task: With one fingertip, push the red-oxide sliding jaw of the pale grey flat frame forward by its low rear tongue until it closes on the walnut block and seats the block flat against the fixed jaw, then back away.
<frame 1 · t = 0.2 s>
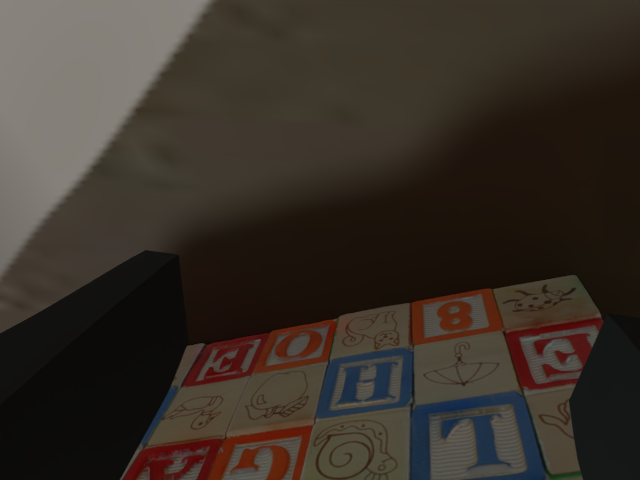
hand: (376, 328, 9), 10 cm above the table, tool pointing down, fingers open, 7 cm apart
stack of blocks: (327, 378, 23), on the table
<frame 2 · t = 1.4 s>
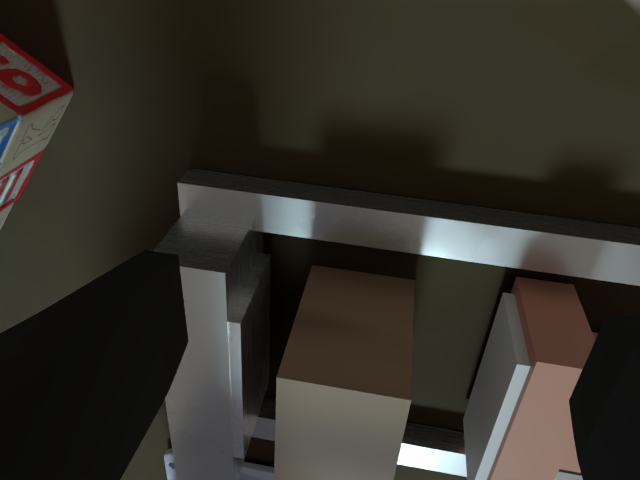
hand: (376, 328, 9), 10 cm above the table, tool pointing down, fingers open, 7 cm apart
pale grey flat frame: (234, 311, 23), on the table
block: (355, 329, 22), resting in pale grey flat frame
sliding jaw: (589, 413, 19), point 2 cm above the table, slide at 0.0 cm
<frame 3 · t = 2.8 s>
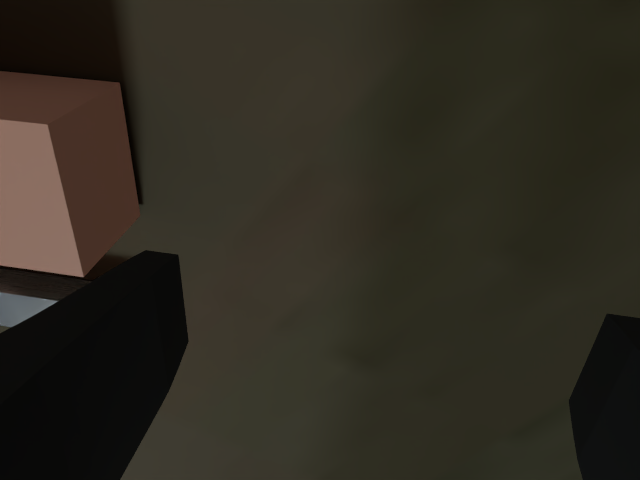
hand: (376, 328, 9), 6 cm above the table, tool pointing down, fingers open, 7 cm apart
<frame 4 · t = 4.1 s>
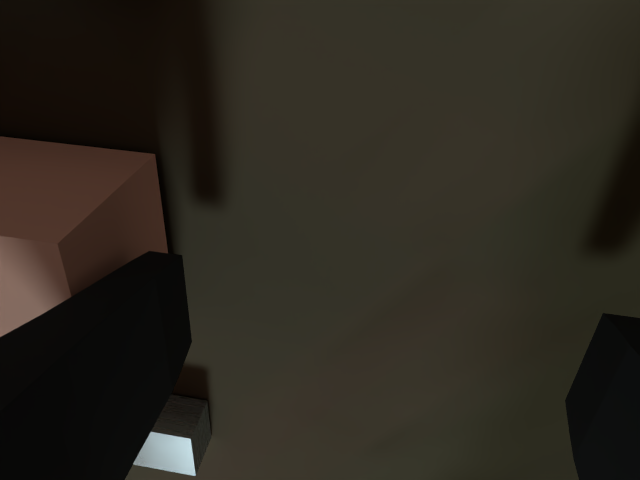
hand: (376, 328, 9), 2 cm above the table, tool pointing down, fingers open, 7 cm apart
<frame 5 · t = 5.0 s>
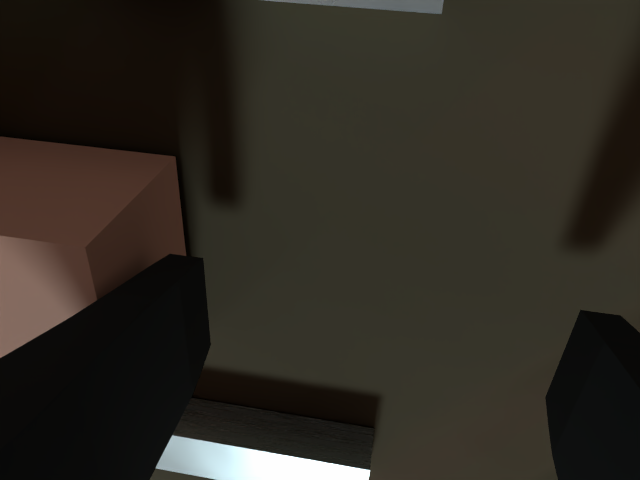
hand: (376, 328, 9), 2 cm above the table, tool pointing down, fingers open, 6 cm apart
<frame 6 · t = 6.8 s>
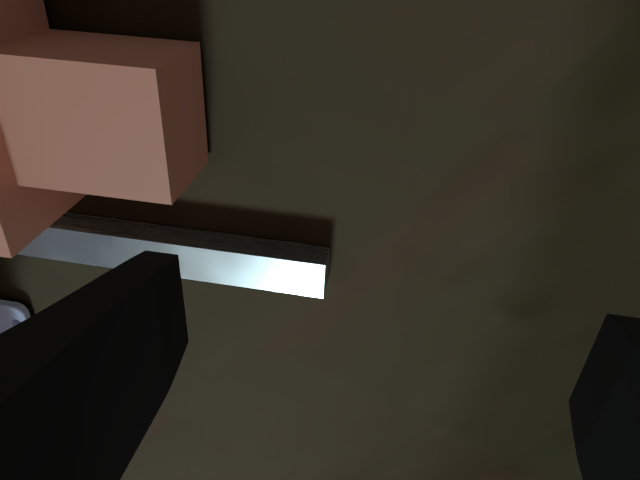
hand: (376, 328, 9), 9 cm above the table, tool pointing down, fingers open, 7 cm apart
sliding jaw: (62, 115, 16), point 2 cm above the table, slide at 4.6 cm
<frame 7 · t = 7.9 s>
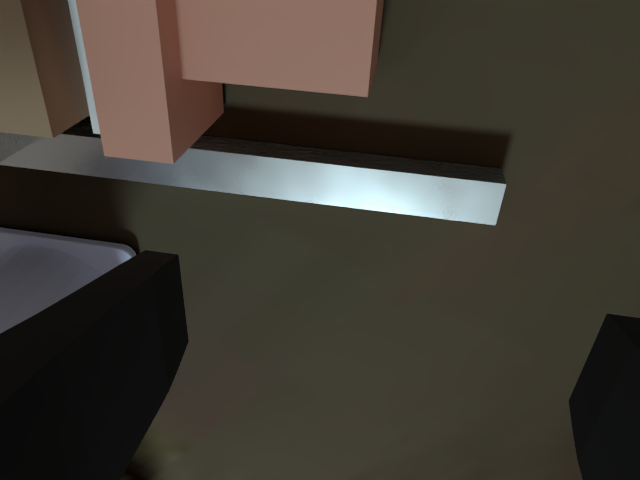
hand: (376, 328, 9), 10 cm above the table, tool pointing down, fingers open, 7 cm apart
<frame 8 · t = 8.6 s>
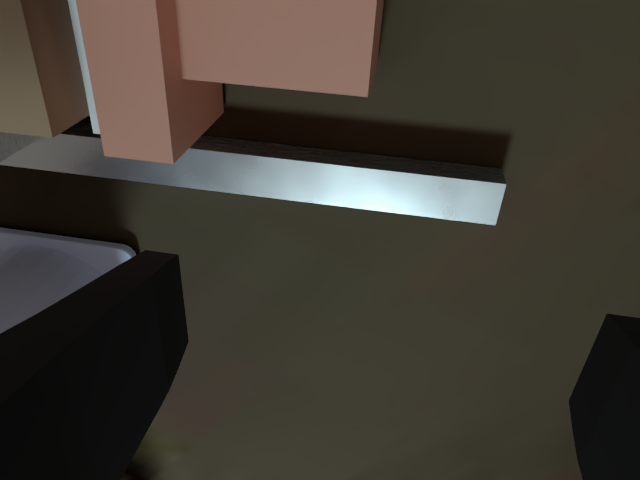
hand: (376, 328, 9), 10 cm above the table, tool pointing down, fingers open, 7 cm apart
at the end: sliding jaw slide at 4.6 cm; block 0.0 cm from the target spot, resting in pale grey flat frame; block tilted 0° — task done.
